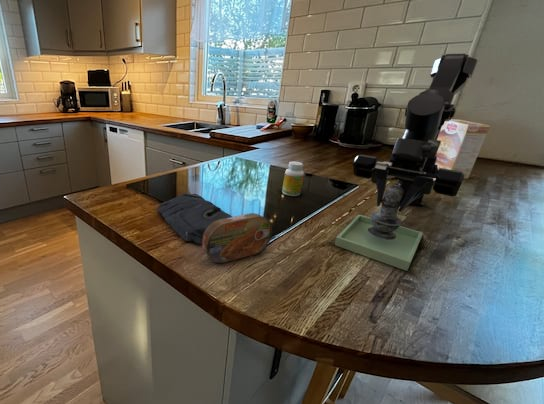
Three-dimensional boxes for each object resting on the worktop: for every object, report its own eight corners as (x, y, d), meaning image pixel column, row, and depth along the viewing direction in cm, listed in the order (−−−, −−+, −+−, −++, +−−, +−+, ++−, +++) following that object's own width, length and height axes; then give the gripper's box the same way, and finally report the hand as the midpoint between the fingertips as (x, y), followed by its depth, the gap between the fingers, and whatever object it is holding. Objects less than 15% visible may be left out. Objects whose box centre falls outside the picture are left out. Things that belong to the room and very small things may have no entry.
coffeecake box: (423, 166, 124) (440, 118, 116) (442, 167, 123) (460, 119, 115) (447, 177, 110) (468, 124, 102) (469, 179, 109) (491, 125, 101)
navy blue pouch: (202, 199, 87) (203, 184, 85) (249, 233, 69) (251, 214, 67) (153, 208, 80) (152, 192, 78) (191, 248, 62) (191, 228, 60)
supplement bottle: (291, 197, 89) (296, 166, 85) (278, 191, 93) (282, 161, 90) (303, 194, 91) (309, 164, 88) (290, 189, 96) (295, 160, 92)
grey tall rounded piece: (378, 225, 68) (393, 175, 64) (403, 237, 63) (422, 184, 59) (360, 229, 66) (374, 178, 62) (385, 242, 61) (402, 188, 57)
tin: (206, 267, 56) (208, 227, 53) (198, 258, 59) (200, 220, 55) (270, 251, 62) (276, 214, 58) (261, 243, 64) (266, 208, 61)
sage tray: (356, 221, 75) (358, 214, 74) (420, 240, 67) (423, 232, 66) (334, 245, 64) (336, 237, 64) (407, 271, 56) (410, 262, 55)
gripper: (366, 117, 64) (337, 177, 61) (483, 128, 52) (455, 203, 49) (367, 147, 72) (341, 201, 70) (468, 163, 61) (443, 229, 58)
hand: (388, 208), depth 61 cm, fingers closed on grey tall rounded piece, 3 cm apart
